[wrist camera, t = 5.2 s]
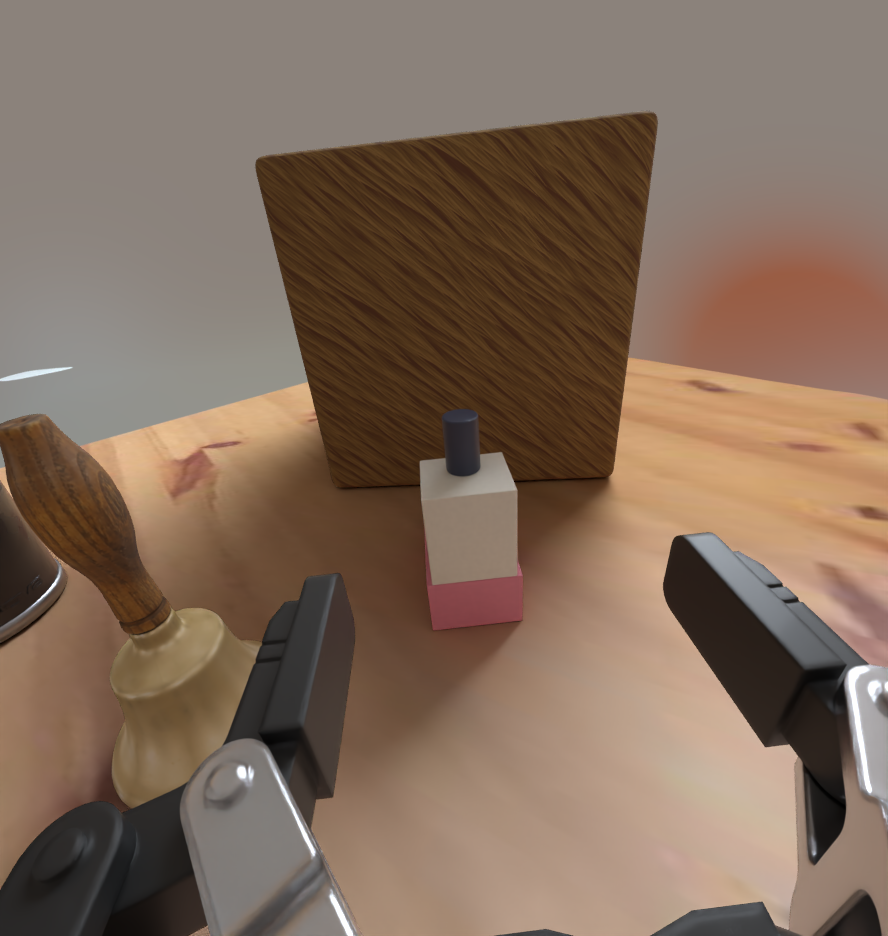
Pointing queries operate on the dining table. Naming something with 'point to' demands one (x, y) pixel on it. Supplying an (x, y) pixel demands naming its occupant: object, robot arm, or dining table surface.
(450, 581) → the block stack
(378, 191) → the wood block
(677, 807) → the dining table surface
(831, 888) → the robot arm
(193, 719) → the hand bell
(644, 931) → the dining table surface
